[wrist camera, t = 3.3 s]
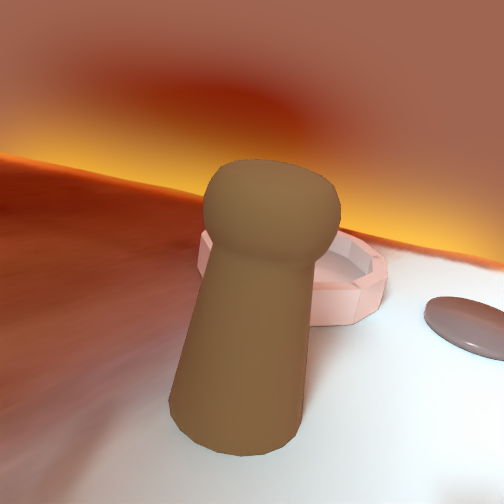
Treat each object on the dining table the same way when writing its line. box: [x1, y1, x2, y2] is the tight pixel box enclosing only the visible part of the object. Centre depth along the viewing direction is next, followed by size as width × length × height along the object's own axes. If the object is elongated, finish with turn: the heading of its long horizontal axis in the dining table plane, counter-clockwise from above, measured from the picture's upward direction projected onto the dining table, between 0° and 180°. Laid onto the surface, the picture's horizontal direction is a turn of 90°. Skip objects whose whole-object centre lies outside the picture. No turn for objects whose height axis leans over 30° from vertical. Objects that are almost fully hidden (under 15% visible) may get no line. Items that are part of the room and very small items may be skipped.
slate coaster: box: [424, 297, 504, 361], centre depth 32 cm, size 7×7×1 cm
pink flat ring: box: [197, 230, 388, 326], centre depth 35 cm, size 13×13×2 cm
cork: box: [169, 159, 341, 456], centre depth 20 cm, size 6×6×11 cm
